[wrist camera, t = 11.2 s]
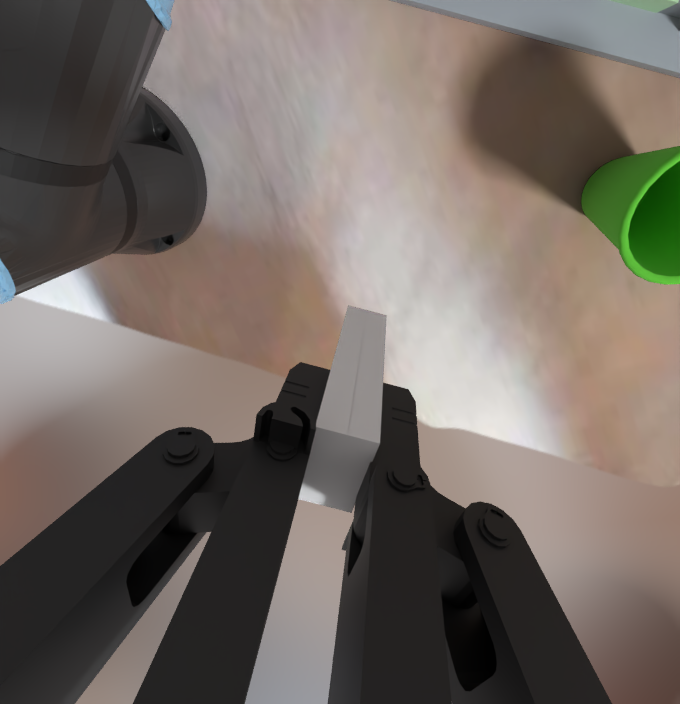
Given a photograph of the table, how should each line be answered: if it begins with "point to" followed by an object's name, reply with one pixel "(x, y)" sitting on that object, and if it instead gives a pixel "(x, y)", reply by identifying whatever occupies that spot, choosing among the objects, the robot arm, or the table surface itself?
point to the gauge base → (582, 26)
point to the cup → (640, 211)
